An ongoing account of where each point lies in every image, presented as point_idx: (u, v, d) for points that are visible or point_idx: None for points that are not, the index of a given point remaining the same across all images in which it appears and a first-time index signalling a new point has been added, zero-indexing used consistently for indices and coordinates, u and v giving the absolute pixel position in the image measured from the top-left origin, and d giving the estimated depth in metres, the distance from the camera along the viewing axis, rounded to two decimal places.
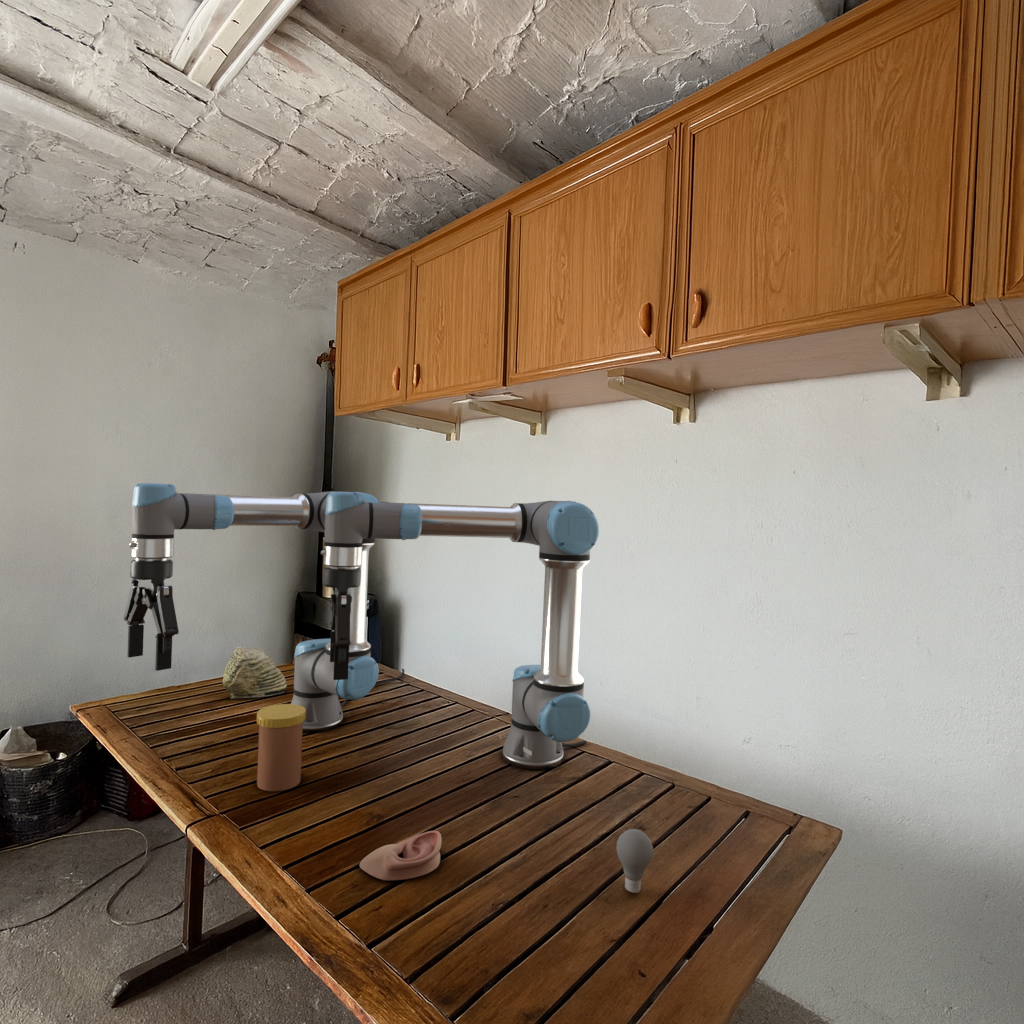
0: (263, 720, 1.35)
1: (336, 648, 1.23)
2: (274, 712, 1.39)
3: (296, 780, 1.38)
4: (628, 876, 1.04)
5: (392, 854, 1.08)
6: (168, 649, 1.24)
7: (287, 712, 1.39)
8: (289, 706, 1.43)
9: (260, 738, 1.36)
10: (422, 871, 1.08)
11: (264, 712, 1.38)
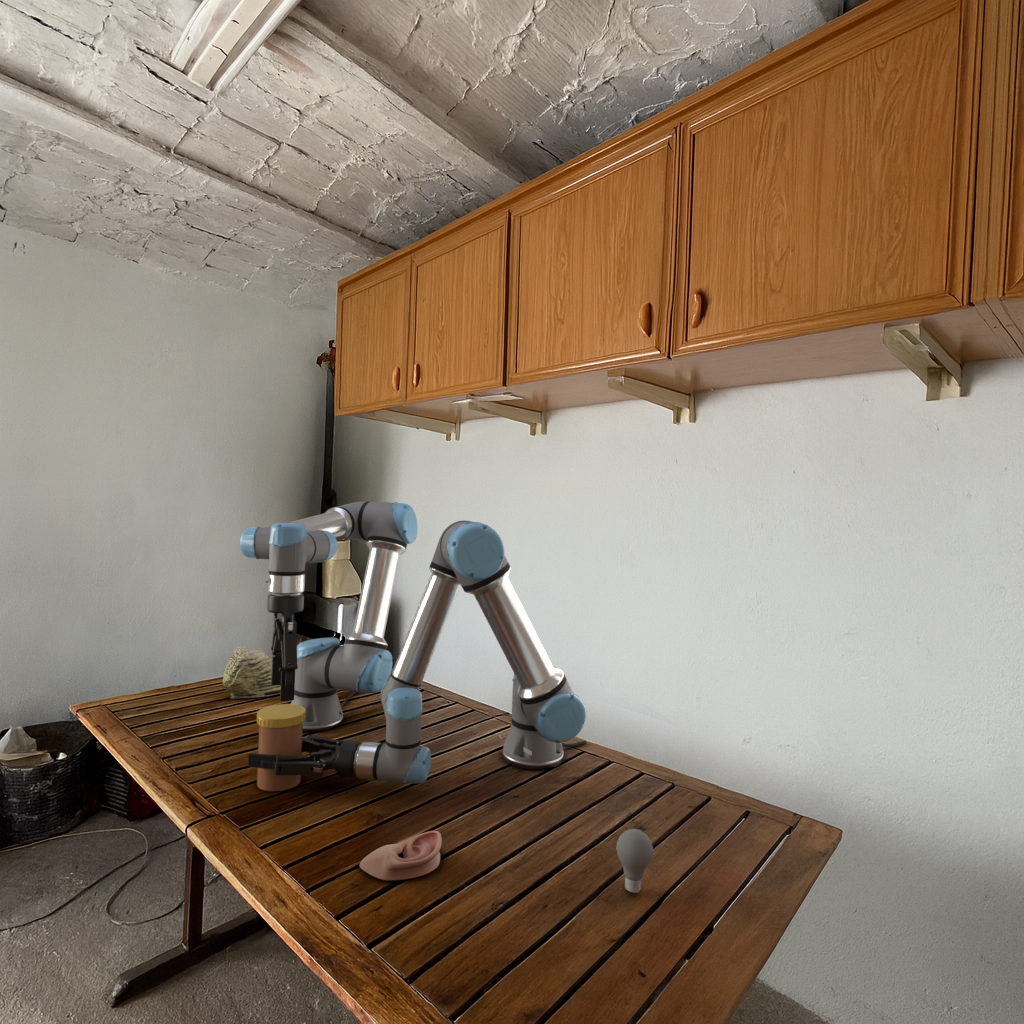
0: (263, 720, 1.35)
1: None
2: (274, 712, 1.39)
3: (296, 780, 1.38)
4: (628, 876, 1.04)
5: (392, 854, 1.08)
6: (290, 682, 1.33)
7: (287, 712, 1.39)
8: (289, 706, 1.43)
9: (260, 738, 1.36)
10: (422, 871, 1.08)
11: (264, 712, 1.38)
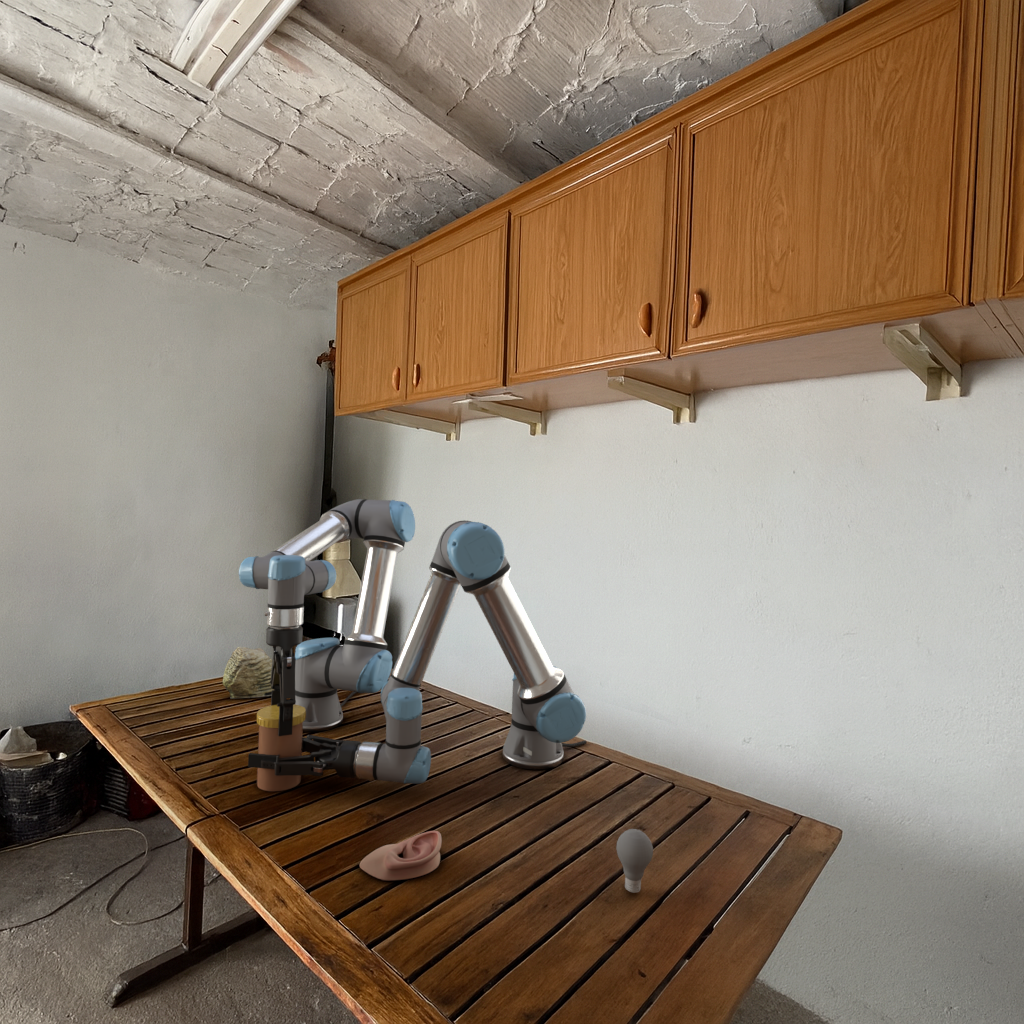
0: (263, 720, 1.35)
1: None
2: (274, 712, 1.39)
3: (296, 780, 1.38)
4: (628, 876, 1.04)
5: (392, 854, 1.08)
6: (288, 717, 1.34)
7: None
8: None
9: (260, 738, 1.36)
10: (422, 871, 1.08)
11: (264, 712, 1.38)
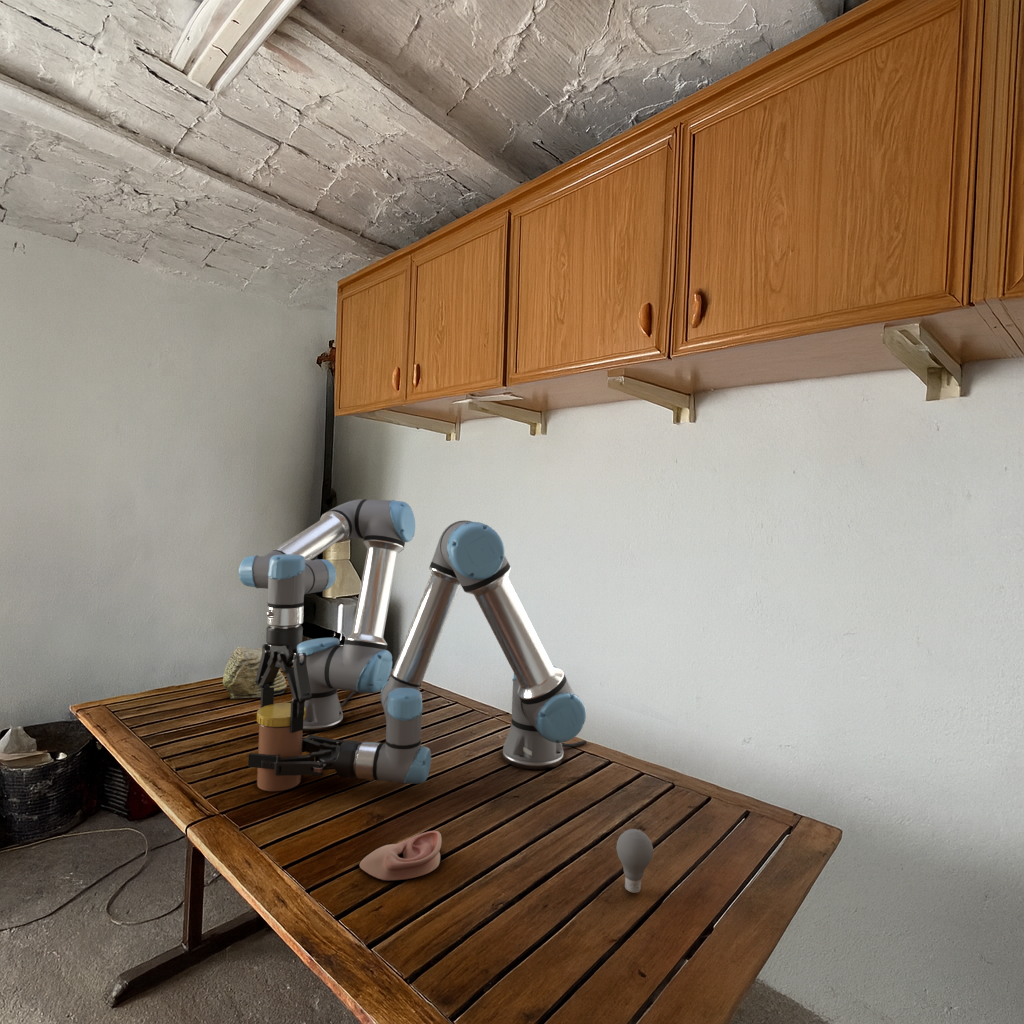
0: None
1: None
2: (283, 712, 1.38)
3: (296, 780, 1.38)
4: (628, 876, 1.04)
5: (392, 854, 1.08)
6: (302, 713, 1.35)
7: (287, 708, 1.41)
8: (268, 708, 1.40)
9: (260, 738, 1.36)
10: (422, 871, 1.08)
11: (279, 715, 1.36)
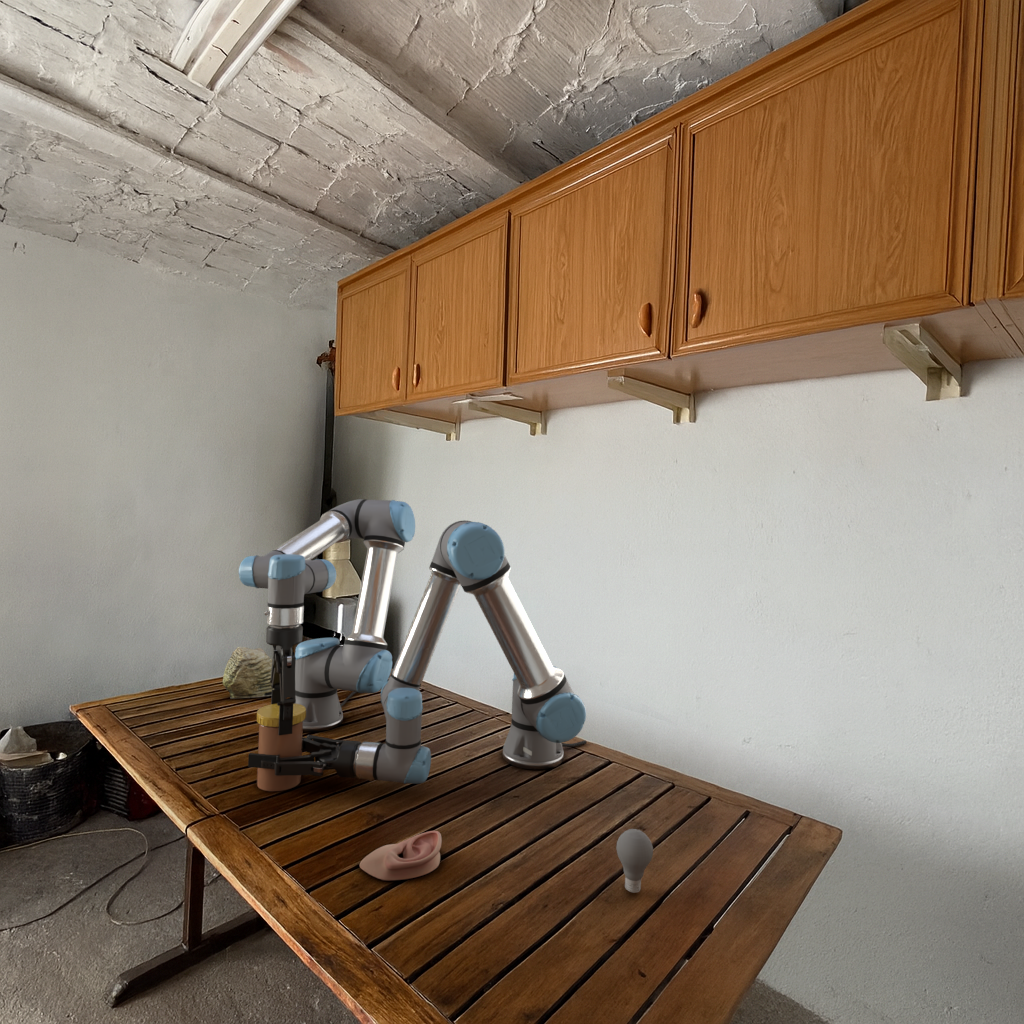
0: (296, 717, 1.37)
1: None
2: None
3: (296, 780, 1.38)
4: (628, 876, 1.04)
5: (392, 854, 1.08)
6: (288, 716, 1.34)
7: None
8: (268, 708, 1.40)
9: (260, 738, 1.36)
10: (422, 871, 1.08)
11: None
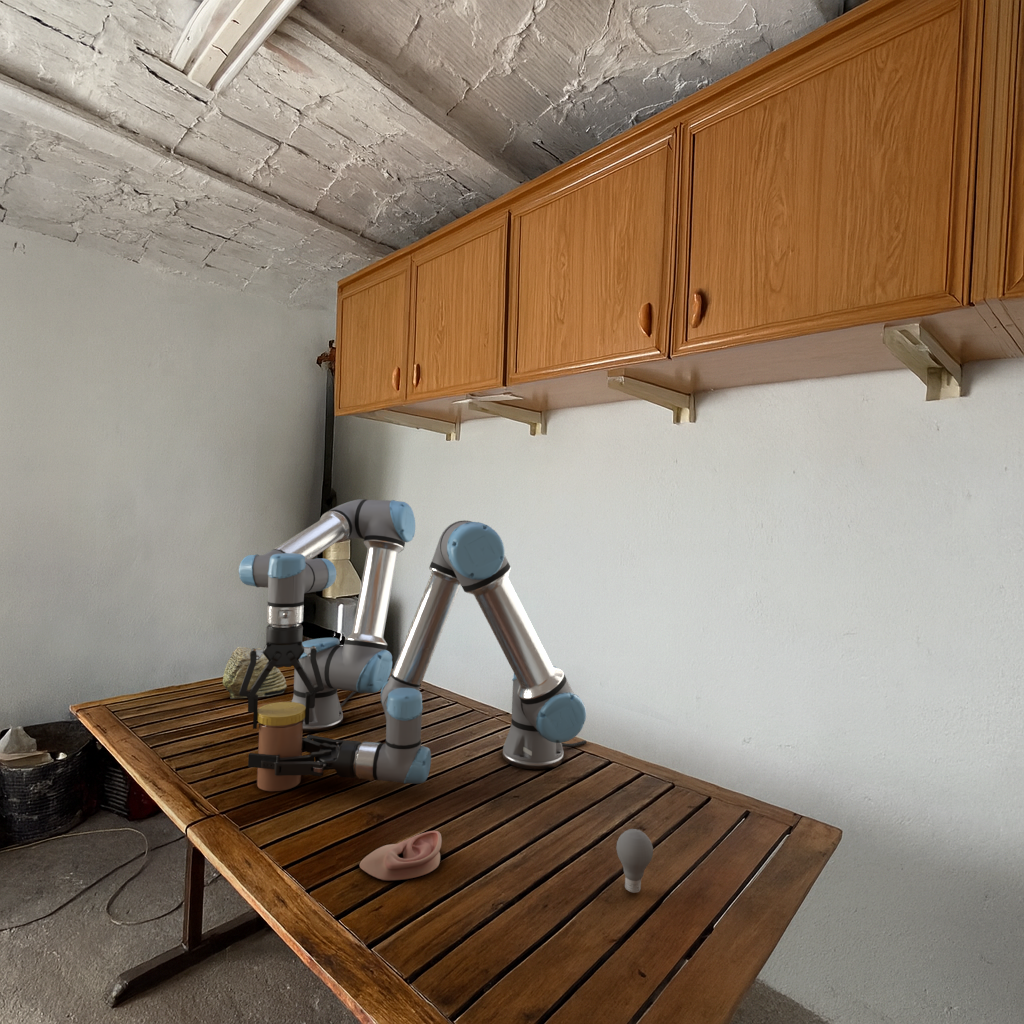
0: None
1: None
2: (289, 708, 1.40)
3: (296, 780, 1.38)
4: (628, 876, 1.04)
5: (392, 854, 1.08)
6: None
7: (277, 707, 1.40)
8: (269, 713, 1.36)
9: (260, 738, 1.36)
10: (422, 871, 1.08)
11: (298, 709, 1.40)
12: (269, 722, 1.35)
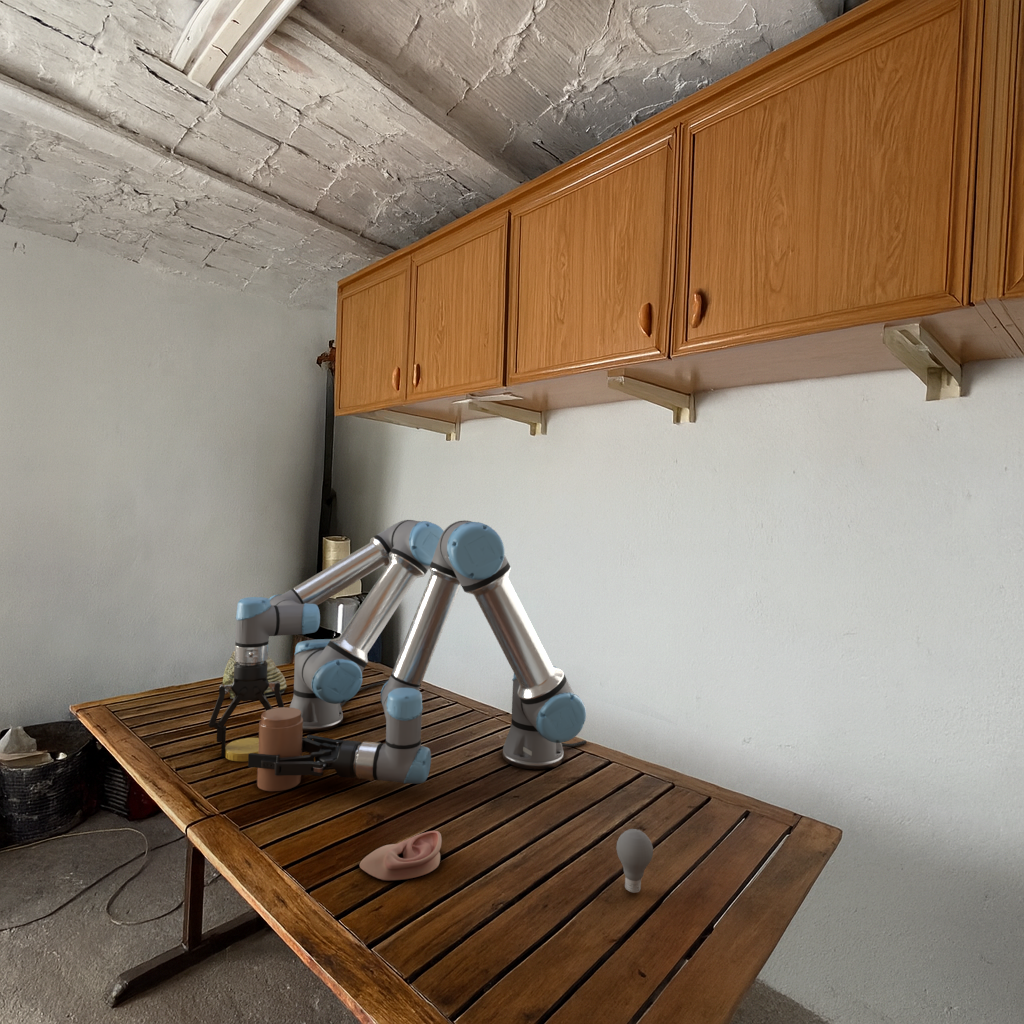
0: None
1: None
2: (254, 744, 1.55)
3: (296, 780, 1.38)
4: (628, 876, 1.04)
5: (392, 854, 1.08)
6: None
7: (244, 743, 1.55)
8: (236, 750, 1.51)
9: (260, 738, 1.36)
10: (422, 871, 1.08)
11: None
12: (236, 758, 1.49)
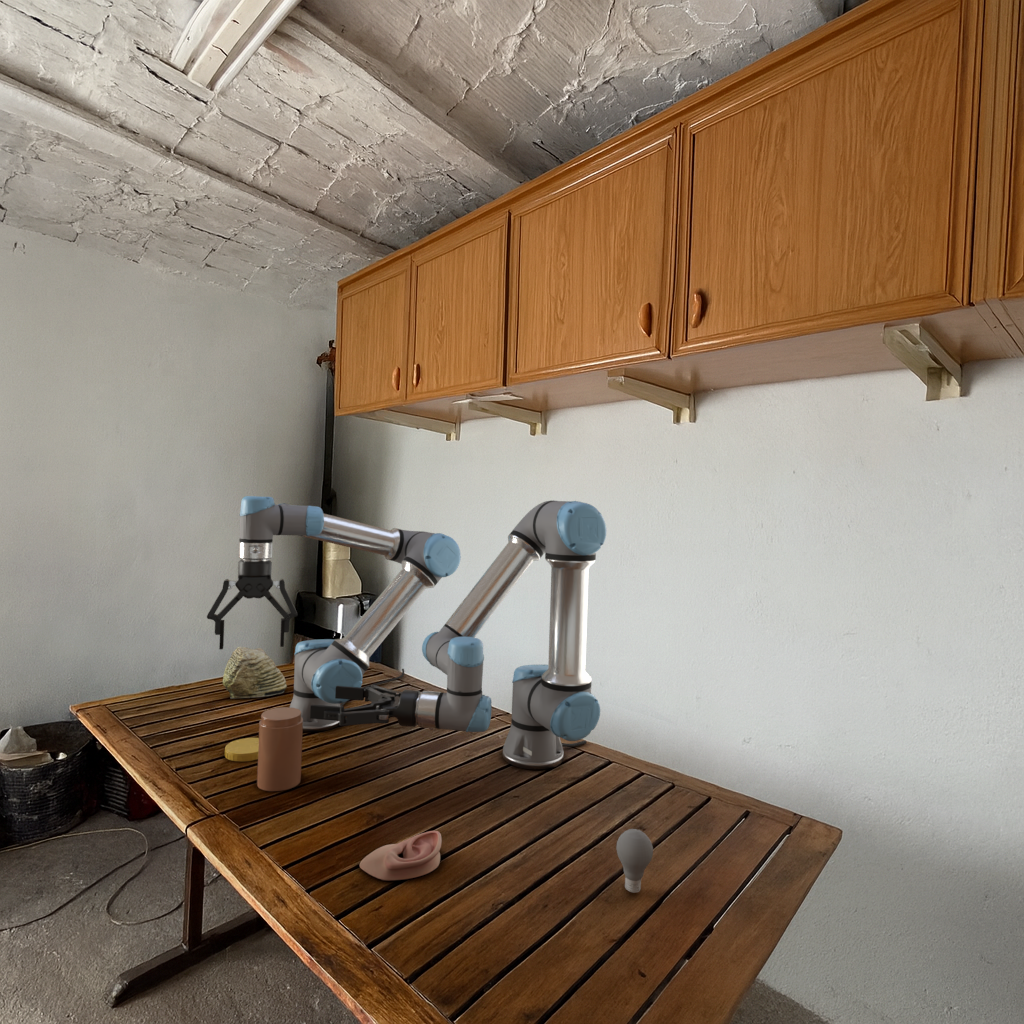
0: None
1: None
2: (254, 744, 1.55)
3: (296, 780, 1.38)
4: (628, 876, 1.04)
5: (392, 854, 1.08)
6: (288, 628, 1.57)
7: (244, 743, 1.55)
8: (236, 750, 1.51)
9: (260, 738, 1.36)
10: (422, 871, 1.08)
11: None
12: (236, 758, 1.49)
